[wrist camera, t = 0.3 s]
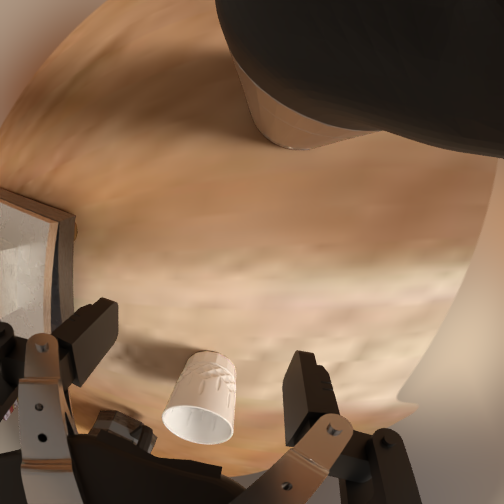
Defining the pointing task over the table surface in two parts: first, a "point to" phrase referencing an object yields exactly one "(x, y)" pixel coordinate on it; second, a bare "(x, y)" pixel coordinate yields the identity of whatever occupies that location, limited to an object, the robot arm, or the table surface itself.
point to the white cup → (203, 400)
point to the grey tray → (55, 255)
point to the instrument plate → (26, 269)
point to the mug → (125, 429)
